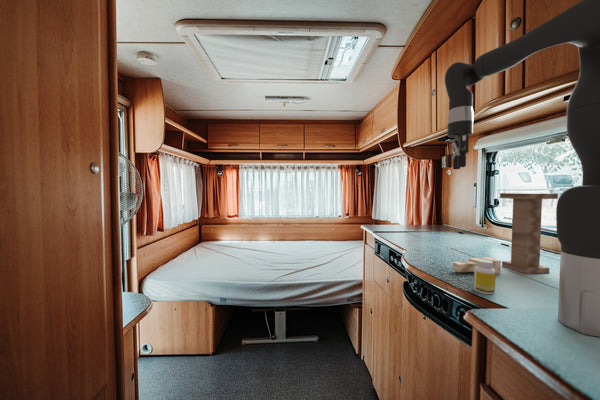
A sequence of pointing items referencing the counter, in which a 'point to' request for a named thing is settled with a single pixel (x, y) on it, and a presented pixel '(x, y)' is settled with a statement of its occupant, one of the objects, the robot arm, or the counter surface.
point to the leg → (472, 264)
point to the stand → (526, 232)
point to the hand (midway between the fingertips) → (459, 168)
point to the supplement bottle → (484, 277)
